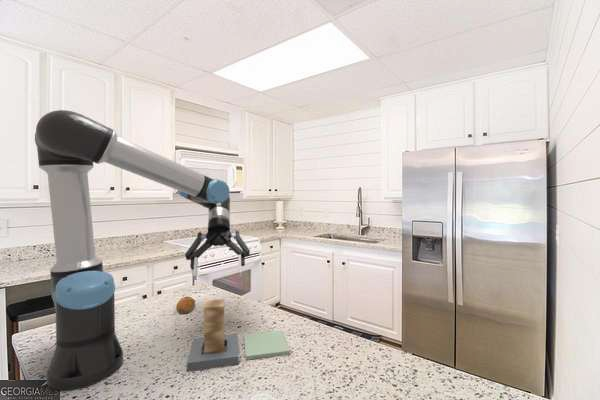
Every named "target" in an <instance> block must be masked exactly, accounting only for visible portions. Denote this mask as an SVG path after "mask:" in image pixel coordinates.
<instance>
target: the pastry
mask: <svg viewBox="0 0 600 400" xmlns="http://www.w3.org/2000/svg"><path fill="white" fill-rule="evenodd" d="M195 304H196V300H195V299H194V298H193V297H192V296H188V295H187V296H183V297H181V298H180V299H179V300H178V302H177V303H176V305H175V306H176V310H177V312H178V314H181V315H182V314H186V313H190V312H191V311H193V310H194V309H195V306H196V305H195Z"/></svg>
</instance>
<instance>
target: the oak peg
mask: <svg viewBox="0 0 600 400" xmlns="http://www.w3.org/2000/svg"><path fill="white" fill-rule="evenodd" d="M224 335H225V299H214V300H211V299H210V300H205V302H204V307H203V337H204V349H203V355H204V354H212V353H220V352H225V347H224Z"/></svg>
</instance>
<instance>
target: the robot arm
mask: <svg viewBox="0 0 600 400" xmlns="http://www.w3.org/2000/svg"><path fill="white" fill-rule="evenodd" d="M35 127H36V128H35V133H34V142H35V146H36V150H37V151H36V152H37V160H38V161H37V162H38V168H39V169H41V170H42V171H44V172H45V173H46V174H47V181H48V190H49V191H48V192H49V199H50V202H49V203H50V209H51V210H50V211H51V218H52V219H51V220H52V222H51V223H52V228H53V229H52V231H53V239H54V241H53V242H54V248H55V259H56V262H55V263H54V264H53V265H52V266H51V267H50V268H49V273H50V283H51V289H50V294H51V300H53V306H54V310H55V338H56V340H55V341H56V344H55V345H56V346H55V350H54V351H53V355H52V357H51V360H50V363H49V366H48V369H47V371H46V372H47V373H46V384H47V386H48V387H49V388H51V389H52V390H55V391H56V390H57V391H70V390H75V389H77V390H78V389H80V388H85V387H87V386H90V385H93V384H96V383H98V382H100V381H102V380H104V379H106V378H108V377H110V376H112V375H113V374H114V373H116V372H117V371H118V370H119V369H120V368H121V367H122V365H123V362H124V351H123V349H122V345H121V344H120V342H119V339H118V336H117V334H116V324H115V322H116V320H115V319H116V317H115V315H116V314H115V311H116V310H115V306H116V305H115V291H116V284H115V279H114V277H113V275H112V274H111V273H109V272H106V271H104V268H103V267H104V265H103V259H101V258H100V257H98V256H96V250H95V249H96V248H95V239H94V227H93V216H92V207H91V197H90V195H91V194H90V186H89V177H88V176H89V175H88V174H89V172H90V171H91V170H92V169H93V168H94V164H95V163H96V164H97V165H99V164H103V163H106V164H109V165H111V166H113V167H116V168H119V169H121V170H124V171H126V172H130V173H132V174H134V175H137V176H140V177H143V178H144V179H148V180H150V181H153V182H155V183H157V184H161V185H163V186H166V187H168V188H171V189H174V190H177V194H178V195H179V196H180V197H182V198H184V199H185V200H187V201H188V200H189V201H190V202H193V203H195V204H196V205H197V204H198V205H199V206H201V207H204V208H205V209H208V218H207V219H208V221H207V222H208V223H207V233H206V234H205V233H202V232H201V231H199V232H197V237H196V238H195V239H194V241H193V242H192V244H191V245H190V246H189V248H188V249H187V251H186V253H184V255H185V256H184V257H185V259H186V261H190V264H189V265H190V266H189V267H190V270H193V271H192V278H193V281H197V278H198V267H199V265H198V263H199V261H198V259H199V258H200V257H202V255H203V254H204V253H205V252H206V251H208V249H210V248H211V247H212V246H214V247H218V246H220V247H222V246H224V245H225V246H226V247H227V248H230V250H232V251H233V252H234V253H235V254H236V255H237V256H238V277H242V274H243V273H242V267H245V263H246V261H245V260H246V259H245V258H246V257H249V256H250V255H251V254H250V253H251V251H250V249H249V247H248V245H247V244H246V243H245V241H244V240H243V238H242V237H241V235H240V231H239V230H236V231H235V232H231V224H230V223H231V221H230V219H231V212H230V211H231V210H230V209H231V199H230V198H231V197H230V193H231V192H230V187H229V185H228V183H227V182H226V181H224V180H223V179H222V180H221V179H219V178H216V179H214V178H212V177H209V176H207V175H205V174H202V173H200V172H198V171H195V170H193V169H192V168H189V167H187V166H184V165H182V164H181V163H178V162H176V161H174V160H171V159H169V158H166V156H164V155H163V156H162V155H160V154H158V153H156V152H154V151H151V150H149V149H147V148H145V147H143V146H140V145H138V144H136V143H133V142H132V141H129V140H127V139H125V138H123V137H121V136H119V135H118V134H117V132H116V130H115V129H113V128H110V127H108V126H106V125H104V124H102V123H100V122H98V121H96V120H94V119H91V118H90V117H87V116H86V115H83V114H82V113H78V112H75V111H72V110H63V109H59V110H53V111H49V112H47V113H46V114H44V115H43V116H41V118H39V120H38V122H37V123H36V126H35ZM231 238H233V239H234V240H235V241H236V243H237V244H238V245H237V244H236V243H235V242H234V241H232V239H231ZM205 239H206V240H205ZM204 240H205V242H204V243H203V244H202V242H203V241H204ZM201 244H202V245H201Z"/></svg>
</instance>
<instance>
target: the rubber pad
mask: <svg viewBox="0 0 600 400" xmlns="http://www.w3.org/2000/svg"><path fill="white" fill-rule="evenodd" d="M243 341H244V353H245V354H244V355H245V361H248V360H249V361H250V360H256V359H263V358H271V357H272V358H273V357H279V356H286V355H291V349H290V346H289V343H288V341H287V338H286V334H285V332H284V330H283V329H282V330H273V331H263V332H255V333H246V334H243Z"/></svg>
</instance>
